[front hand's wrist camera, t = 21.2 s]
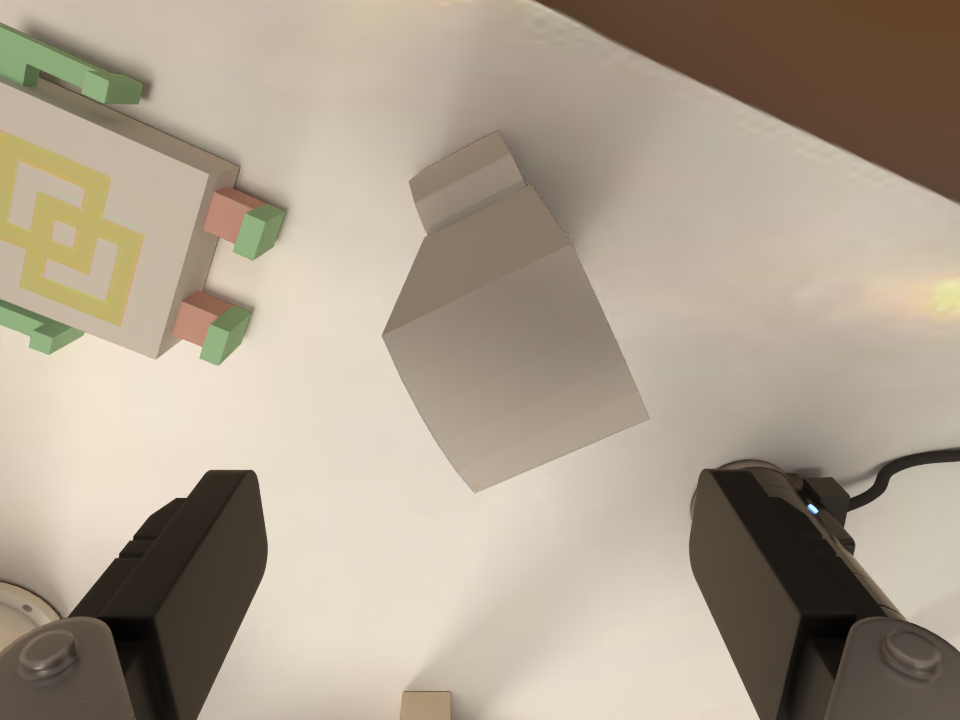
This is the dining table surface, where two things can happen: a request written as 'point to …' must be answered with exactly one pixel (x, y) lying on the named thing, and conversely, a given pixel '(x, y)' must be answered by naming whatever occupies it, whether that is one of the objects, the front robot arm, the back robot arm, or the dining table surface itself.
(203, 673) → the front robot arm
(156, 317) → the decorative block
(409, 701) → the brick
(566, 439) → the electronic device
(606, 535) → the dining table surface
